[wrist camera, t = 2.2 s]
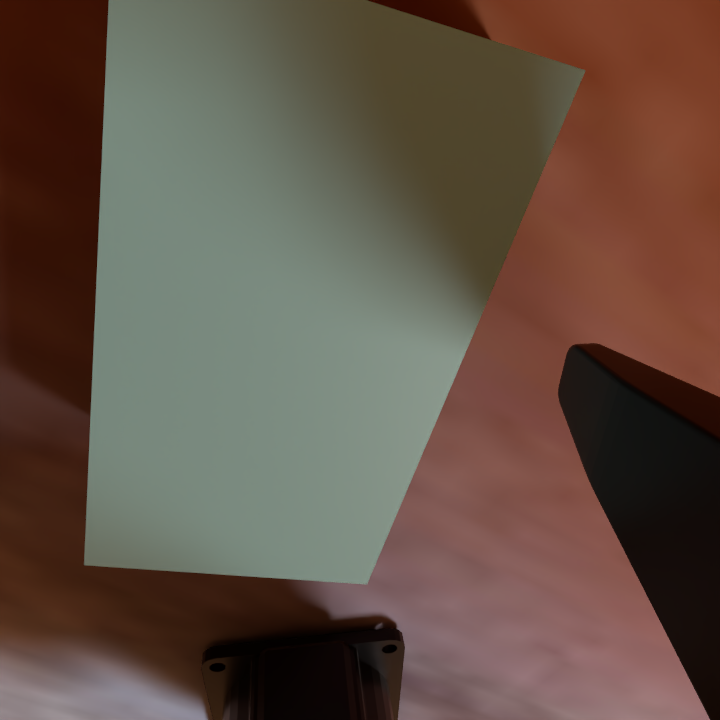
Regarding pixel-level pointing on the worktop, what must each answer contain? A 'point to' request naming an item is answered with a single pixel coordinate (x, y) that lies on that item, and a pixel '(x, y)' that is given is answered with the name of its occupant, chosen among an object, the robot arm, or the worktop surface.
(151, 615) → the worktop surface
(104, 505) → the grey-green block
